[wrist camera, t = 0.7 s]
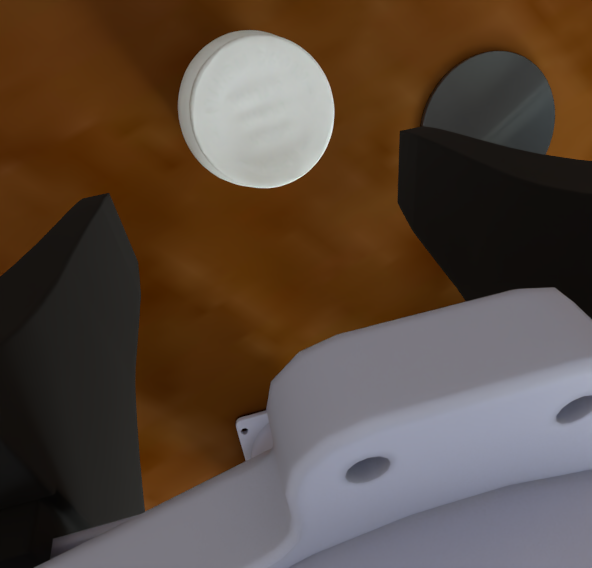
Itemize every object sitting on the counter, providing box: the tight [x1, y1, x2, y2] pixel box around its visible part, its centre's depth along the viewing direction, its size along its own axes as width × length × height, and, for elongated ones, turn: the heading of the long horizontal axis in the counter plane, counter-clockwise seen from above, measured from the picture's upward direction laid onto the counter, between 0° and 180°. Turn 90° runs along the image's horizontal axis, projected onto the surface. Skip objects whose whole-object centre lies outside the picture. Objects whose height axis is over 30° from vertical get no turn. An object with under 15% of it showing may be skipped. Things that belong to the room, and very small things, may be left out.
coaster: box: [420, 51, 555, 155], centre depth 30 cm, size 9×9×1 cm
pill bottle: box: [178, 30, 334, 188], centre depth 22 cm, size 6×6×11 cm
